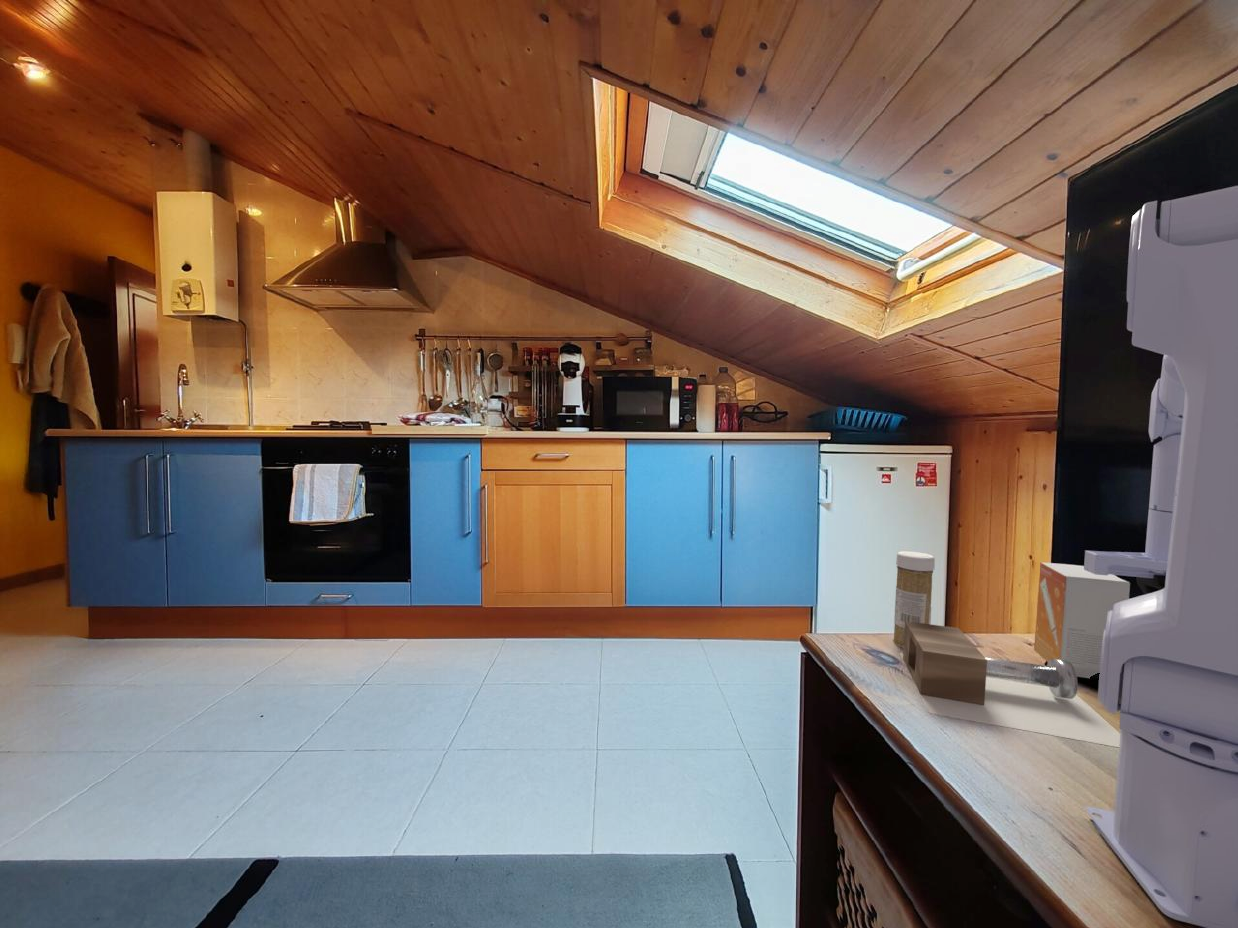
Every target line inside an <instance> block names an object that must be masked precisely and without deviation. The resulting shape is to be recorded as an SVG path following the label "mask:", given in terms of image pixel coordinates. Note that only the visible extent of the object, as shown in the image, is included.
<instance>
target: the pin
mask: <svg viewBox="0 0 1238 928" xmlns="http://www.w3.org/2000/svg"><path fill="white" fill-rule="evenodd" d="M984 657H985V658H986V659H987V671H986V677H989V678H995V679H1002V680H1008V681H1014V682H1021V683H1027V684H1034V685H1040V686H1046V687H1049V689H1050V691H1051V692H1052V694H1053V695H1054V696H1056V697H1061V698H1068V699H1073V698H1074V697H1075V696H1076V695H1077V693H1078V685H1079V684H1078V676H1076V672H1075V669H1074V667H1073V665H1072V664H1071V663H1070V662H1069V661H1067V660H1060V659H1053V658H1052V659H1050V660H1049V661H1048V662H1047V664H1046V665H1044V664H1043V665H1042V664H1036V663H1028V662H1022V661H1015V660H1009V659H1001V658H996V657H995V658H994V657H989V656H984Z"/></svg>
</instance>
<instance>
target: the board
mask: <svg viewBox="0 0 1238 928" xmlns="http://www.w3.org/2000/svg"><path fill="white" fill-rule="evenodd" d="M899 654H900V656H901V658H902V659H903V652H899ZM904 664H905V663H904ZM905 666H906V664H905ZM905 668H907V666H906V667H905ZM907 671H908V673H909V674H910V672H909V670H908V668H907ZM910 676H911V674H910ZM911 679H912V681H913V683H914V684H915V682H914V680H913V678H912V676H911ZM915 687H916V689H917V691H918V693H919V695H920V696H921V698H922V701H923V703H924V705H925V706H926V709H927V711H928V713H929V714H931V715H932V714H933V715H937V716H942V717H943V716H944V717H949V718H954V719H960V720H966V721H971V722H976V723H981V724H987V725H993V726H996V727H997V726H998V727H1002V728H1003V727H1004V728H1009V729H1015V730H1020V731H1025V732H1031V733H1036V734H1042V735H1048V736H1053V737H1059V738H1064V739H1069V740H1074V741H1075V740H1076V741H1081V742H1086V743H1090V744H1091V743H1092V744H1097V745H1104V746H1108V747H1113V748H1118V749H1119V744H1120V732H1119V731H1118V730H1117V729H1116V728H1115V727H1113V726H1112V725H1111V724H1110V723H1109V722H1108V721H1107V720H1105V719H1104V718H1103V717H1102V716H1101V715H1100V714H1099V713H1098V712H1097V711H1096V710H1095V709H1093V708H1092V707H1091V706H1090V705H1089V704H1088V703H1087V702H1085V700H1083V699H1082V698H1081V697H1079V695H1077V694H1076V696H1075V697H1074V698H1073V699H1068V698H1061V697H1056V696H1054V695H1053V694H1052V692H1051V691H1050V689H1049V687H1046V686H1040V685H1034V684H1027V683H1021V682H1014V681H1008V680H1002V679H995V678H989V677H986V686H985V701H984V706H983V705H978V704H972V703H966V702H960V701H954V700H949V699H943V698H937V697H931V696H925V695H921V694H920V692H919V690H918V688H917V686H916V684H915Z"/></svg>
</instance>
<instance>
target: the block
mask: <svg viewBox="0 0 1238 928" xmlns="http://www.w3.org/2000/svg"><path fill="white" fill-rule="evenodd" d="M902 653H903V658H902V660H903V663H904V664H906V665H905V666H907V667H906V668H908V669H907V671H908V670H909V671H908V673H909V672H910V673H909V674H911V675H910V676H912V677H911V679H912V678H913V679H912V681H913V680H914V681H913V683H914V682H915V683H914V684H916V685H915V687H916V686H917V687H916V689H917V688H918V689H917V691H918V690H919V691H918V693H919V692H920V693H919V695H920V694H921V695H925V696H931V697H937V698H943V699H949V700H954V701H960V702H966V703H972V704H978V705H983V706H984V701H985V686H986V671H987V659H986V658H985V657H986V656H984V655H983V654H982V652H981V651H980V650H979V649H978V648H977V647H976V646H975V645H974V643H973V642H972V641H971V640H970V639H969V638H968V637H967V636H966V634H965V633H964V632H963V631H962V630H961V628H959V627H952V626H945V625H937V624H931V623H930V624H923V623H916V622H908V621H905V630H904V647H903V650H902ZM921 695H920V696H921Z"/></svg>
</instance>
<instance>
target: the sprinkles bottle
mask: <svg viewBox="0 0 1238 928" xmlns="http://www.w3.org/2000/svg"><path fill="white" fill-rule="evenodd" d="M935 561H936V560H935V556H933V555H931V554H929V553H925V552H919V551H910V550H909V551H907V550H905V551H904V550H903V551H899V552H897V553H896V568H897V572H896V573H897V574H896V585H895V597H894V598H895V599H894V618H893V619H894V621H893V622H894V626H893V627H894V629H893V631H894V632H893V639H892V643H893V644H894V645H895V646H897V647H900V648H903V647H904V630H905V621H908V622H916V623H923V624H931V622H932V621H931V619H932V605H931V604H932V590H933V574H934V570H935V563H936V562H935Z"/></svg>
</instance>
